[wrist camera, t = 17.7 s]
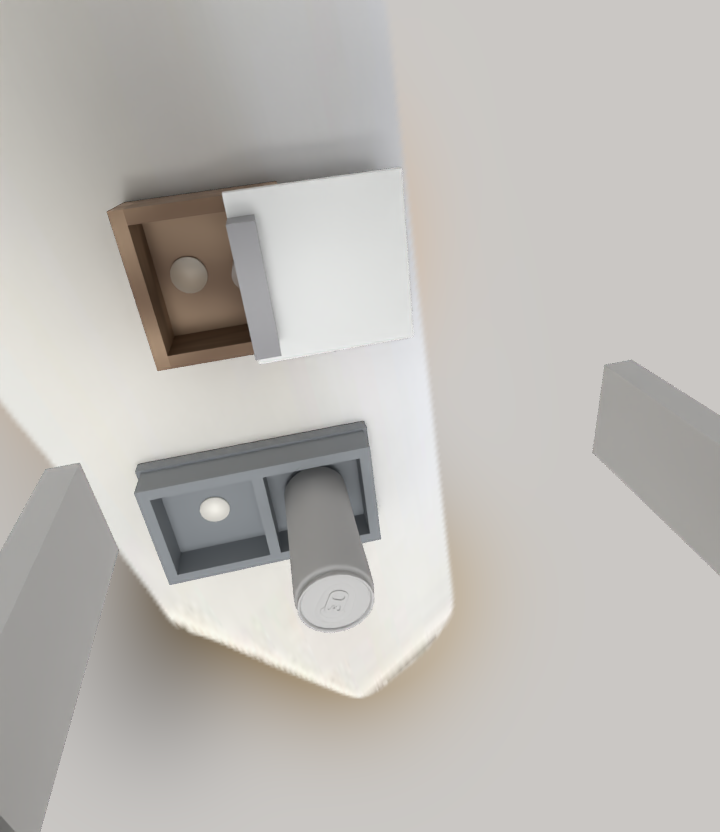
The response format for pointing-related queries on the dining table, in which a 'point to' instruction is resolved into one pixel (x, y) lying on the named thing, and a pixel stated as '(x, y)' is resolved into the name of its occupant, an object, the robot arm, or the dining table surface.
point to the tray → (183, 276)
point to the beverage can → (326, 552)
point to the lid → (322, 263)
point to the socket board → (246, 499)
